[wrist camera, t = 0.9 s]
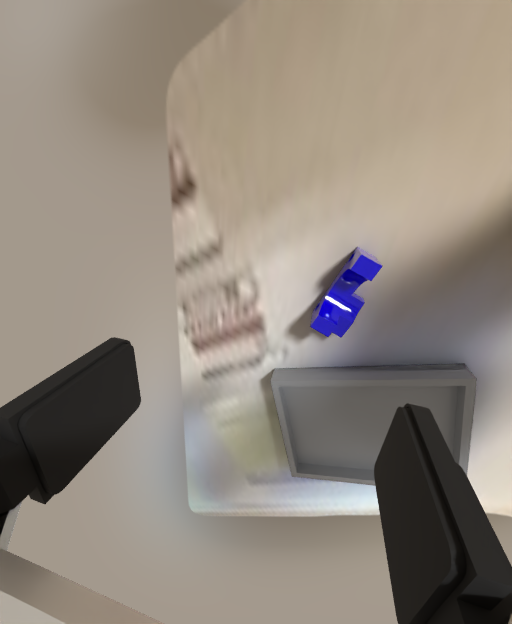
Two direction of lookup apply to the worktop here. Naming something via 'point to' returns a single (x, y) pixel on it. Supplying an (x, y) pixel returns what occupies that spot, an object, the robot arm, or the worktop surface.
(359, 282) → the cable holder
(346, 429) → the tray
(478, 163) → the worktop surface
